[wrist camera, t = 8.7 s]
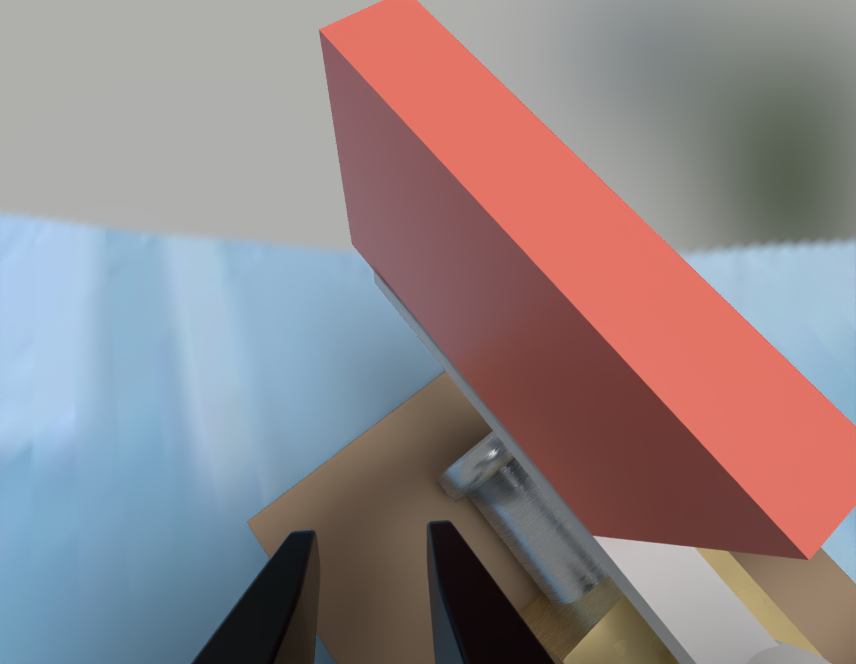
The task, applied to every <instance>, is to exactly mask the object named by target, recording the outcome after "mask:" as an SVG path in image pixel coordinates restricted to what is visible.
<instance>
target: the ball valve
mask: <svg viewBox="0 0 856 664" xmlns="http://www.w3.org/2000/svg"><path fill="white" fill-rule="evenodd" d="M436 479H437V480H438V482H439V483H440V484H441V486H442V487H443V488H444V490H445V491H446V492H447V494H448V495H449V496H450V497H451V499H452V500H453V501H454V503H457V502H458V501H460V500H462V499H463V498H464V497H466V496H467V495H468V496H469V497H470V499H471V500H472V501H473V503H474V504H475V505H476V506H477V508H478V509H479V510H480V512H481V513H482V514H483V515H484V517H485V518H486V519H487V521H488V522H489V523H490V524H491V526H492V527H493V528H494V530H495V531H496V532H497V533H498V535H499V536H500V537H501V539H502V540H503V541H504V543H505V544H506V545H507V546H508V548H509V549H510V550H511V552H512V553H513V554H514V555H515V557H516V558H517V559H518V561H519V562H520V563H521V564H522V566H523V567H524V568H525V570H526V571H527V572H528V573H529V575H530V576H531V577H532V579H533V580H534V581H535V582H536V584H537V585H538V586H539V588H540V589H541V590H540V591H539V592H538V593H537V594H536V595H535V596H534V597H533V598H532V599H531V600H530V601H529V602H528V603H527V604H526V605H525V606H524V607H523V608H522V609H521V610H520V611H518V613H519V614H520V615H521V617H522V618H523V620H524V621H525V622H526V624H527V625H528V626H529V628H530V629H531V630H532V632H533V633H534V634H535V636H536V637H537V639H538V640H539V641H540V643H541V644H542V645H543V647H544V648H545V649H546V651H547V652H548V653H549V655H550V656H551V658H552V659H553V660H554V662H555V663H556V664H680V663H679V662H678V661H677V659H676V658H675V657H674V656H673V654H672V653H671V652H670V651H669V649H668V648H667V647H666V646H665V644H664V643H663V642H662V641H661V639H660V638H659V637H658V636H657V634H656V633H655V632H654V631H653V629H652V628H651V627H650V626H649V624H648V623H647V622H646V621H645V619H644V618H643V617H642V616H641V614H640V613H639V612H638V611H637V609H636V608H635V607H634V606H633V604H632V603H631V602H630V601H629V599H628V598H627V597H626V596H625V594H624V593H623V592H622V591H621V589H620V588H619V587H618V586H617V584H616V583H615V582H614V581H613V579H612V578H611V577H610V576H609V574H608V573H607V572H606V571H605V569H604V568H603V567H602V566H601V564H600V563H599V562H598V561H597V559H596V558H595V557H594V556H593V554H592V553H591V552H590V551H589V549H588V548H587V547H586V546H585V544H584V543H583V542H582V541H581V539H580V538H579V537H578V536H577V534H576V533H575V532H574V531H573V530H572V528H571V527H570V526H569V525H568V523H567V522H566V521H565V520H564V518H563V517H562V516H561V515H560V513H559V512H558V511H557V510H556V508H555V507H554V506H553V505H552V503H551V502H550V501H549V500H548V498H547V497H546V496H545V495H544V493H543V492H542V491H541V490H540V488H539V487H538V486H537V485H536V483H535V482H534V481H533V480H532V478H531V477H530V476H529V475H528V473H527V472H526V471H525V470H524V468H523V467H522V466H521V465H520V463H519V462H518V461H517V460H516V458H515V457H514V456H513V455H512V453H511V452H510V451H509V450H508V448H507V447H506V446H505V445H504V443H503V442H502V441H501V440H500V438H499V437H498V436H497V435H496V433H495V432H494V431H492V432H491V433H490V434H488V435H487V436H486V437H485V438H484V439H482V440H481V441H480V442H479V443H478V444H476V445H475V446H474V447H473V448H472V449H470V450H469V451H468V452H467V453H466V454H464V455H463V456H462V457H461V458H460V459H458V460H457V461H456V462H455V463H454V464H452V465H451V466H450V467H449V468H448V469H446V470H445V471H444V472H443V473H442V474H440V475H439V476H438V477H437V478H436ZM695 548H696V550H697V551H698V552H699V553H700V554H701V555H702V557H703V558H704V559H705V560H706V561H707V562H708V563H709V565H710V566H711V567H712V568H713V569H714V570H715V572H716V573H717V574H718V575H719V576H720V577H721V579H722V580H723V581H724V582H725V583H726V584H727V585H728V587H729V588H730V589H731V590H732V591H733V592H734V594H735V595H736V596H737V597H738V598H739V599H740V601H741V602H742V603H743V604H744V605H745V606H746V607H747V609H748V610H749V611H750V612H751V613H752V614H753V616H754V617H755V618H756V619H757V620H758V621H759V623H760V624H761V625H762V626H763V627H764V628H765V629H766V631H767V632H768V633H769V634H770V635H771V636H772V638H773V639H774V640H777V641H780V642H783V643H786V644H789V645H792V646H795V647H798V648H801V649H805V650H807V651H810V652H813V653H815V654H817V655H819V656H821V657H823V656H822V655H821V654H820V653H819V652H818V651H817V650H816V649H815V647H814V646H813V645H812V644H811V643H810V642H809V641H808V640H807V639H806V637H805V636H804V635H803V634H802V633H801V632H800V631H799V630H798V629H797V627H796V626H795V625H794V624H793V623H792V622H791V621H790V620H789V619H788V617H787V616H786V615H785V614H784V613H783V612H782V611H781V610H780V609H779V607H778V606H777V605H776V604H775V603H774V602H773V601H772V600H771V599H770V597H769V596H768V595H767V594H766V593H765V592H764V591H763V590H762V589H761V587H760V586H759V585H758V584H757V583H756V582H755V581H754V580H753V579H752V577H751V576H750V575H749V574H748V573H747V572H746V571H745V570H744V569H743V568H742V566H741V565H740V564H739V563H738V562H737V561H736V560H735V559H734V558H733V556H732V555H731V554H730V553H729V552H728V551H723V550H714V549H705V548H697V547H695ZM823 658H824V657H823Z"/></svg>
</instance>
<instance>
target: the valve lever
mask: <svg viewBox="0 0 856 664" xmlns="http://www.w3.org/2000/svg"><path fill="white" fill-rule="evenodd" d="M319 32H320V39H321V45H322V51H323V58H324V65H325V71H326V78H327V85H328V91H329V97H330V104H331V111H332V117H333V124H334V130H335V137H336V143H337V150H338V156H339V163H340V169H341V175H342V182H343V189H344V195H345V202H346V208H347V215H348V221H349V228H350V235H351V240H352V244H353V245H354V247H355V248H356V249H357V250H358V252H359V253H360V254H361V255H362V257H363V258H364V259H365V260H366V262H367V263H368V264H369V265H370V267H371V268H372V269H373V270H374V277H375V284H376V285H377V286H378V287H379V289H380V290H381V291H382V292H383V294H384V295H385V296H386V297H387V299H388V300H389V301H390V302H391V304H392V305H393V306H394V307H395V309H396V310H397V311H398V312H399V314H400V315H401V316H402V317H403V319H404V320H405V321H406V322H407V324H408V325H409V326H410V327H411V329H412V330H413V331H414V332H415V334H416V335H417V336H418V337H419V339H420V340H421V341H422V342H423V344H424V345H425V346H426V347H427V349H428V350H429V351H430V352H431V354H432V355H433V356H434V357H435V359H436V360H437V361H438V362H439V364H440V365H441V366H442V367H443V369H444V370H445V371H446V372H447V374H448V375H449V376H450V377H451V379H452V380H453V381H454V382H455V383H456V385H457V386H458V387H459V388H460V390H461V391H462V392H463V393H464V395H465V396H466V397H467V398H468V400H469V401H470V402H471V403H472V405H473V406H474V407H475V408H476V410H477V411H478V412H479V413H480V415H481V416H482V417H483V418H484V420H485V421H486V422H487V423H488V425H489V426H490V427H491V428H492V430H493V431H494V432H495V433H496V435H497V436H498V437H499V438H500V440H501V441H502V442H503V443H504V445H505V446H506V447H507V448H508V450H509V451H510V452H511V453H512V455H513V456H514V457H515V458H516V460H517V461H518V462H519V463H520V465H521V466H522V467H523V468H524V470H525V471H526V472H527V473H528V475H529V476H530V477H531V478H532V480H533V481H534V482H535V483H536V485H537V486H538V487H539V488H540V490H541V491H542V492H543V493H544V495H545V496H546V497H547V498H548V500H549V501H550V502H551V503H552V505H553V506H554V507H555V508H556V510H557V511H558V512H559V513H560V515H561V516H562V517H563V518H564V520H565V521H566V522H567V523H568V525H569V526H570V527H571V528H572V530H573V531H574V532H575V533H576V534H577V536H578V537H579V538H580V539H581V541H582V542H583V543H584V544H585V546H586V547H587V548H588V549H589V551H590V552H591V553H592V554H593V556H594V557H595V558H596V559H597V561H598V562H599V563H600V564H601V566H602V567H603V568H604V569H605V571H606V572H607V573H608V574H609V576H610V577H611V578H612V579H613V581H614V582H615V583H616V584H617V586H618V587H619V588H620V589H621V591H622V592H623V593H624V594H625V596H626V597H627V598H628V599H629V601H630V602H631V603H632V604H633V606H634V607H635V608H636V609H637V611H638V612H639V613H640V614H641V616H642V617H643V618H644V619H645V621H646V622H647V623H648V624H649V626H650V627H651V628H652V629H653V631H654V632H655V633H656V634H657V636H658V637H659V638H660V639H661V641H662V642H663V643H664V644H665V646H666V647H667V648H668V649H669V651H670V652H671V653H672V654H673V656H674V657H675V658H676V659H677V661H678V662H679V663H680V664H832V663H830V662H829V661H827V660H826V659H824V658H823V657H821V656H819V655H817V654H815V653H813V652H810V651H807V650H805V649H801V648H798V647H795V646H792V645H789V644H786V643H783V642H780V641H777V640H774V639H773V638H772V636H771V635H770V634H769V633H768V632H767V631H766V629H765V628H764V627H763V626H762V625H761V624H760V623H759V621H758V620H757V619H756V618H755V617H754V616H753V614H752V613H751V612H750V611H749V610H748V609H747V607H746V606H745V605H744V604H743V603H742V602H741V601H740V599H739V598H738V597H737V596H736V595H735V594H734V592H733V591H732V590H731V589H730V588H729V587H728V585H727V584H726V583H725V582H724V581H723V580H722V579H721V577H720V576H719V575H718V574H717V573H716V572H715V570H714V569H713V568H712V567H711V566H710V565H709V563H708V562H707V561H706V560H705V559H704V558H703V557H702V555H701V554H700V553H699V552H698V551H697V550H696V548H695V547H697V548H705V549H714V550H723V551H732V552H741V553H750V554H759V555H768V556H777V557H786V558H794V559H803V560H810V559H811V558H812V556H813V555H814V554H815V553H816V552H817V550H818V549H819V548H820V547H821V546H822V545H823V543H824V542H825V541H826V540H827V539H828V538H829V536H830V535H831V534H832V533H833V532H834V530H835V529H836V528H837V527H838V526H839V525H840V523H841V522H842V521H843V520H844V519H845V517H846V516H847V515H848V514H849V513H850V512H851V510H852V509H853V508H854V507H855V506H856V426H855V425H854V424H853V423H852V422H851V421H850V420H849V419H848V418H846V417H845V416H844V415H843V414H842V413H841V412H840V411H839V410H838V409H837V408H836V407H835V406H834V405H833V404H832V403H831V402H830V401H829V400H828V399H827V398H826V397H825V396H824V395H823V394H822V393H821V392H820V391H819V390H818V389H817V388H816V387H815V386H814V385H812V384H811V383H810V382H809V381H808V380H807V379H806V378H805V377H804V376H803V375H802V374H801V373H800V372H799V371H798V370H797V369H796V368H795V367H794V366H793V365H792V364H791V363H790V362H789V361H788V360H787V359H786V358H785V357H784V356H783V355H782V354H781V353H779V352H778V351H777V350H776V349H775V348H774V347H773V346H772V345H771V344H770V343H769V342H768V341H767V340H766V339H765V338H764V337H763V336H762V335H761V334H760V333H759V332H758V331H757V330H756V329H755V328H754V327H753V326H752V325H751V324H750V323H749V322H748V321H747V320H745V319H744V318H743V317H742V316H741V315H740V314H739V313H738V312H737V311H736V310H735V309H734V308H733V307H732V306H731V305H730V304H729V303H728V302H727V301H726V300H725V299H724V298H723V297H722V296H721V295H720V294H719V293H718V292H717V291H716V290H715V289H714V288H713V287H711V286H710V285H709V284H708V283H707V282H706V281H705V280H704V279H703V278H702V277H701V276H700V275H699V274H698V273H697V272H696V271H695V270H694V269H693V268H692V267H691V266H690V265H689V264H688V263H687V262H686V261H685V260H684V259H683V258H682V257H681V256H680V255H679V254H677V253H676V252H675V251H674V250H673V249H672V248H671V247H670V246H669V245H668V244H667V243H666V242H665V241H664V240H663V239H662V238H661V237H660V236H659V235H658V234H657V233H656V232H655V231H654V230H653V229H652V228H651V227H650V226H649V225H648V224H646V223H645V222H644V221H643V220H642V219H641V218H640V217H639V216H638V215H637V214H636V213H635V212H634V211H633V210H632V209H631V208H630V207H629V206H628V205H627V204H626V203H625V202H624V201H623V200H622V199H621V198H620V197H619V196H618V195H617V194H615V192H613V191H612V189H610V188H609V187H608V186H607V185H606V184H605V183H604V182H603V181H602V180H601V179H600V178H599V177H598V176H597V175H596V174H595V173H594V172H593V171H592V170H591V169H590V168H589V167H588V166H587V165H586V164H585V163H584V162H583V161H581V159H579V157H577V156H576V155H575V154H574V153H573V152H572V151H571V150H570V149H569V148H568V147H567V146H566V145H565V144H564V143H563V142H562V141H561V140H560V139H559V138H558V137H557V136H556V135H555V134H554V133H553V132H552V131H551V130H550V129H548V127H547V126H546V125H544V124H543V123H542V122H541V121H540V120H539V119H538V118H537V117H536V116H535V115H534V114H533V113H532V112H531V111H530V110H529V109H528V108H527V107H526V106H525V105H524V104H523V103H522V102H521V101H520V100H519V99H518V98H517V97H516V96H515V95H514V94H513V93H511V92H510V91H509V90H508V89H507V88H506V87H505V86H504V85H503V84H502V83H501V82H500V81H499V80H498V79H497V78H496V77H495V76H494V75H493V74H492V73H491V72H490V71H489V70H488V69H487V68H486V67H485V66H484V65H482V63H481V62H479V60H478V59H477V58H475V57H474V56H473V55H472V54H471V53H470V52H469V51H468V50H467V49H466V48H465V47H464V46H463V45H462V44H461V43H460V42H459V41H458V40H457V39H456V38H455V37H454V36H453V35H452V34H451V33H450V32H449V31H448V30H447V29H446V28H444V27H443V26H442V25H441V24H440V23H439V22H438V21H437V20H436V19H435V18H434V17H433V16H432V15H431V14H430V13H429V12H428V11H427V10H426V9H425V8H424V7H423V6H422V5H421V4H420V3H419V2H418V1H417V0H383V1H381V2H379V3H377V4H375V5H372V6H370V7H368V8H366V9H363V10H361V11H359V12H357V13H355V14H353V15H350V16H348V17H346V18H344V19H341V20H339V21H337V22H335V23H333V24H330V25H328V26H326V27H324V28H322V29H320V30H319Z"/></svg>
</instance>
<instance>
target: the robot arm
mask: <svg viewBox="0 0 856 664" xmlns="http://www.w3.org/2000/svg"><path fill="white" fill-rule="evenodd" d="M427 572H428V584H429V596H430V608H431V621H432V633H433V645H434V654H435V663H436V664H556V663H555V662H554V660H553V659H552V658H551V656H550V655H549V653H548V652H547V651H546V649H545V648H544V647H543V645H542V644H541V643H540V641H539V640H538V639H537V637H536V636H535V634H534V633H533V632H532V630H531V629H530V628H529V626H528V625H527V624H526V622H525V621H524V620H523V618H522V617H521V615H520V614H519V613H518V611H517V610H516V609H515V607H514V606H513V605H512V603H511V602H510V601H509V599H508V598H507V596H506V595H505V594H504V592H503V591H502V590H501V588H500V587H499V586H498V584H497V583H496V582H495V580H494V579H493V577H492V576H491V575H490V573H489V572H488V571H487V569H486V568H485V567H484V565H483V564H482V562H481V561H480V560H479V558H478V557H477V556H476V554H475V553H474V552H473V550H472V549H471V548H470V546H469V545H468V543H467V542H466V541H465V539H464V538H463V537H462V535H461V534H460V533H459V531H458V530H457V529H456V527H455V526H454V524H453V523H452V522H451V521H449V520H438V521H430V522H428V524H427ZM319 588H320V558H319V550H318V541H317V534H316V532H315V531H314V530H313V529H308V530H294V531H292V532H290V533H289V534H288V536H287V537H286V538H285V540H284V541H283V542H282V544H281V545H280V546H279V548H278V549H277V550H276V552H275V553H274V554H273V556H272V557H271V558H270V560H269V561H268V562H267V564H266V565H265V566H264V568H263V569H262V570H261V572H260V573H259V574H258V576H257V577H256V578H255V579H254V581H253V582H252V583H251V585H250V586H249V587H248V589H247V590H246V591H245V593H244V594H243V595H242V597H241V598H240V599H239V601H238V602H237V603H236V605H235V606H234V607H233V609H232V610H231V611H230V613H229V614H228V615H227V617H226V618H225V619H224V621H223V622H222V623H221V625H220V626H219V627H218V629H217V630H216V631H215V633H214V634H213V635H212V637H211V638H210V639H209V641H208V642H207V643H206V645H205V646H204V647H203V648H202V650H201V651H200V652H199V654H198V655H197V656H196V658H195V659H194V660H193V662H192V663H191V664H314V656H315V643H316V629H317V615H318V601H319Z"/></svg>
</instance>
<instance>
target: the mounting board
mask: <svg viewBox="0 0 856 664" xmlns="http://www.w3.org/2000/svg"><path fill="white" fill-rule="evenodd" d="M492 431H493V430H492V428H491V427H490V426H489V425H488V423H487V422H486V421H485V420H484V418H483V417H482V416H481V415H480V413H479V412H478V411H477V410H476V408H475V407H474V406H473V405H472V403H471V402H470V401H469V400H468V398H467V397H466V396H465V395H464V393H463V392H462V391H461V390H460V388H459V387H458V386H457V385H456V383H455V382H454V381H453V380H452V379H451V377H450V376H449V375H448V374H447V372H446V371H445V372H443V373H442V374H441V375H440V376H438V377H437V378H436V379H434V380H433V381H432V382H430V383H429V384H428V385H426V386H425V387H424V388H422V389H421V390H420V391H419V392H417V393H416V394H415V395H413V396H412V397H411V398H409V399H408V400H407V401H405V402H404V403H403V404H401V405H400V406H399V407H397V408H396V409H395V410H394V411H392V412H391V413H390V414H388V415H387V416H386V417H384V418H383V419H382V420H380V421H379V422H378V423H376V424H375V425H374V426H372V427H371V428H370V429H369V430H367V431H366V432H365V433H363V434H362V435H361V436H359V437H358V438H357V439H355V440H354V441H353V442H351V443H350V444H349V445H348V446H346V447H345V448H344V449H342V450H341V451H340V452H338V453H337V454H336V455H334V456H333V457H332V458H330V459H329V460H328V461H326V462H325V463H324V464H323V465H321V466H320V467H319V468H317V469H316V470H315V471H313V472H312V473H311V474H309V475H308V476H307V477H305V478H304V479H303V480H302V481H300V482H299V483H298V484H296V485H295V486H294V487H292V488H291V489H290V490H288V491H287V492H286V493H284V494H283V495H282V496H280V497H279V498H278V499H277V500H275V501H274V502H273V503H271V504H270V505H269V506H267V507H266V508H265V509H263V510H262V511H261V512H259V513H258V514H257V515H255V516H254V517H253V518H252V519H250V520H249V521H248V522H247V524H248V525H249V527H250V528H251V530H252V532H253V533H254V535H255V536H256V538H257V539H258V541H259V543H260V544H261V546H262V547H263V549H264V551H265V552H266V554H267V555H268V557H269V558H271V557H272V556H273V554H274V553H275V552H276V550H277V549H278V548H279V546H280V545H281V544H282V542H283V541H284V540H285V538H286V537H287V536H288V534H289V533H290V532H292V531H294V530H308V529H313V530H314V531H315V532H316V534H317V541H318V550H319V558H320V588H319V601H318V615H317V629H316V633H317V634H318V636H319V637H320V639H321V641H322V642H323V644H324V645H325V647H326V648H327V650H328V652H329V653H330V655H331V656H332V658H333V660H334V661H335V663H336V664H436V663H435V654H434V645H433V633H432V621H431V608H430V596H429V584H428V572H427V524H428V522H430V521H438V520H449V521H451V522H452V523H453V524H454V526H455V527H456V529H457V530H458V531H459V533H460V534H461V535H462V537H463V538H464V539H465V541H466V542H467V543H468V545H469V546H470V548H471V549H472V550H473V552H474V553H475V554H476V556H477V557H478V558H479V560H480V561H481V562H482V564H483V565H484V567H485V568H486V569H487V571H488V572H489V573H490V575H491V576H492V577H493V579H494V580H495V582H496V583H497V584H498V586H499V587H500V588H501V590H502V591H503V592H504V594H505V595H506V596H507V598H508V599H509V601H510V602H511V603H512V605H513V606H514V607H515V609H516V610H517V611H520V610H521V609H522V608H523V607H524V606H525V605H526V604H527V603H528V602H529V601H530V600H531V599H532V598H533V597H534V596H535V595H536V594H537V593H538V592H539V591H540V590H541V589H540V588H539V586H538V585H537V584H536V582H535V581H534V580H533V579H532V577H531V576H530V575H529V573H528V572H527V571H526V570H525V568H524V567H523V566H522V564H521V563H520V562H519V561H518V559H517V558H516V557H515V555H514V554H513V553H512V552H511V550H510V549H509V548H508V546H507V545H506V544H505V543H504V541H503V540H502V539H501V537H500V536H499V535H498V533H497V532H496V531H495V530H494V528H493V527H492V526H491V524H490V523H489V522H488V521H487V519H486V518H485V517H484V515H483V514H482V513H481V512H480V510H479V509H478V508H477V506H476V505H475V504H474V503H473V501H472V500H471V499H470V497H469V496H468V495H467V496H466V497H464V498H463V499H462V500H460V501H458V502H457V503H454V501H453V500H452V499H451V497H450V496H449V495H448V494H447V492H446V491H445V490H444V488H443V487H442V486H441V484H440V483H439V482H438V480H437V479H436V478H437V477H438V476H439V475H440V474H442V473H443V472H444V471H445V470H446V469H448V468H449V467H450V466H451V465H452V464H454V463H455V462H456V461H457V460H458V459H460V458H461V457H462V456H463V455H464V454H466V453H467V452H468V451H469V450H470V449H472V448H473V447H474V446H475V445H476V444H478V443H479V442H480V441H481V440H482V439H484V438H485V437H486V436H487V435H488V434H490V433H491V432H492ZM728 552H729V553H730V554H731V555H732V556H733V558H734V559H735V560H736V561H737V562H738V563H739V564H740V565H741V566H742V568H743V569H744V570H745V571H746V572H747V573H748V574H749V575H750V576H751V577H752V579H753V580H754V581H755V582H756V583H757V584H758V585H759V586H760V587H761V589H762V590H763V591H764V592H765V593H766V594H767V595H768V596H769V597H770V599H771V600H772V601H773V602H774V603H775V604H776V605H777V606H778V607H779V609H780V610H781V611H782V612H783V613H784V614H785V615H786V616H787V617H788V619H789V620H790V621H791V622H792V623H793V624H794V625H795V626H796V627H797V629H798V630H799V631H800V632H801V633H802V634H803V635H804V636H805V637H806V639H807V640H808V641H809V642H810V643H811V644H812V645H813V646H814V647H815V649H816V650H817V651H818V652H819V653H820V654H821V655H822V656H823V657H824V659H826V660H827V661H829V662H830V663H832V664H856V584H855V583H854V582H853V581H852V580H851V579H850V578H849V577H848V575H847V574H846V573H845V572H844V571H843V570H842V569H841V568H840V567H839V566H838V565H837V564H836V563H835V562H834V561H833V560H832V559H831V558H830V557H829V556H828V555H827V554H826V552H825V551H824V550H823V549H822V548H821V547H820V548H819V549H818V550H817V552H816V553H815V554H814V555H813V556H812V558H811V559H810V560H803V559H794V558H786V557H777V556H768V555H759V554H750V553H741V552H732V551H728Z"/></svg>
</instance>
